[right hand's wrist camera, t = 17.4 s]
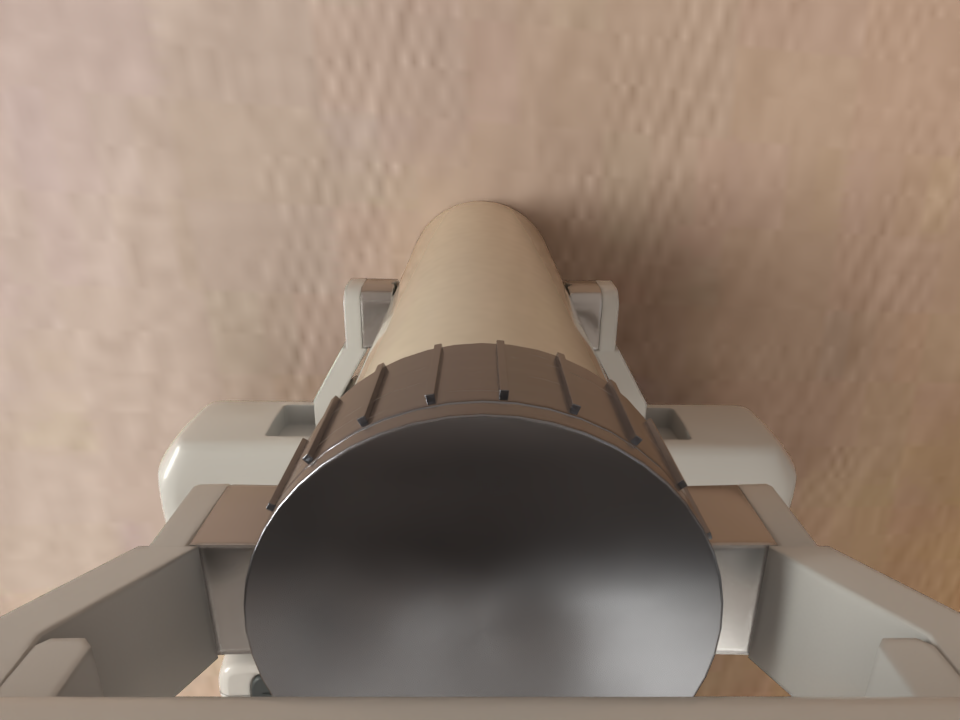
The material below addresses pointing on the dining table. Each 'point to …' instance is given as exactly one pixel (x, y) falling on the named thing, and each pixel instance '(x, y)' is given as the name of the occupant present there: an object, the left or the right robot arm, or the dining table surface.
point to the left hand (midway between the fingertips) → (479, 283)
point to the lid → (483, 541)
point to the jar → (481, 291)
